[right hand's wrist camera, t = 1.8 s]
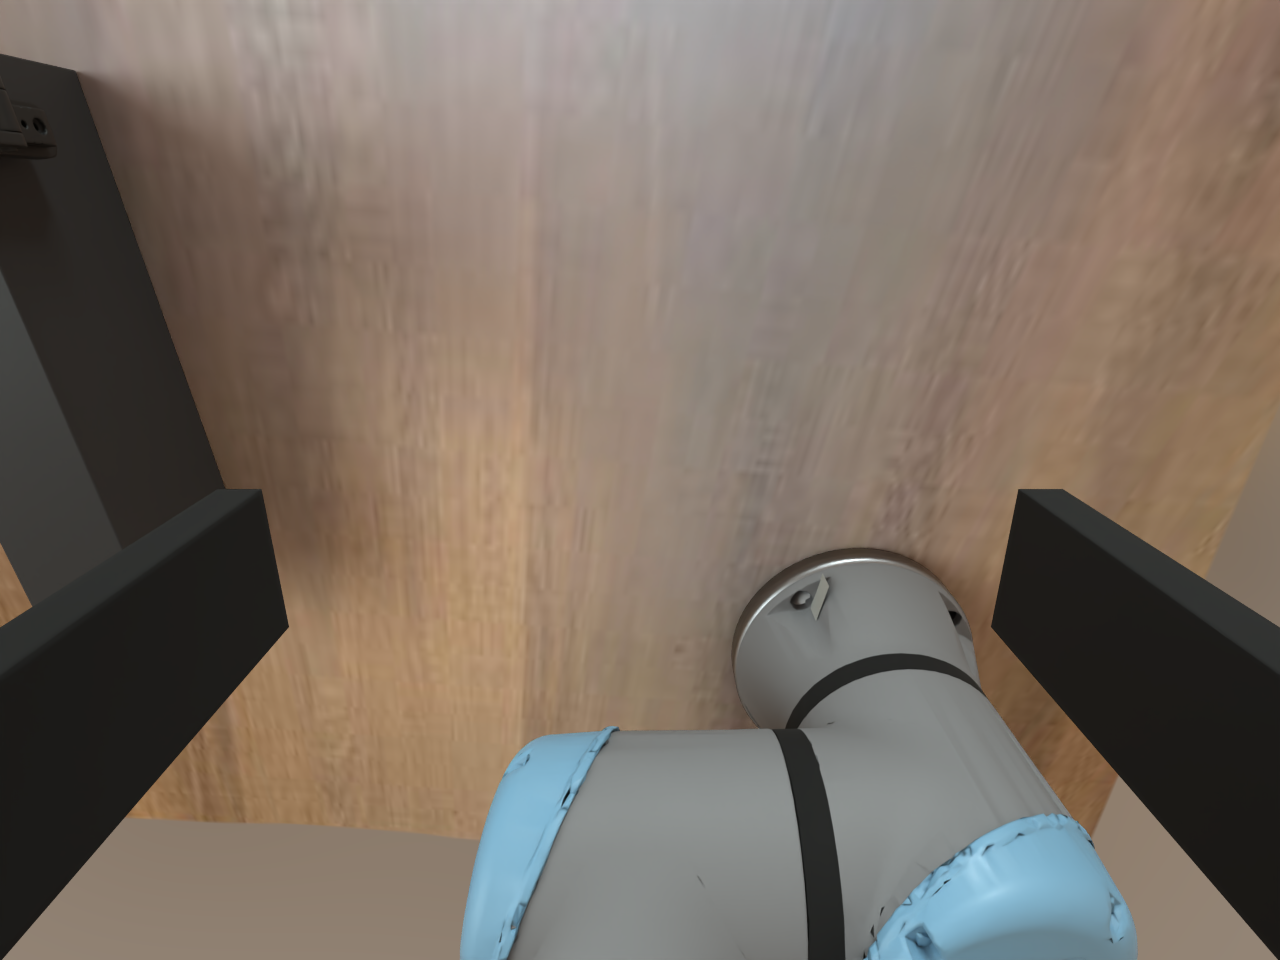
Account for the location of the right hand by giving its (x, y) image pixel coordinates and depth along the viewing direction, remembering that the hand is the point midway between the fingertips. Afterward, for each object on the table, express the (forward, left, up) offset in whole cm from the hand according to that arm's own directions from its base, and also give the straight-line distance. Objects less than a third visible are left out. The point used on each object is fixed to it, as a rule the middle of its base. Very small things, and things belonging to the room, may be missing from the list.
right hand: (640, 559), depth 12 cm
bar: (-6, +29, -29) cm, 41 cm away
